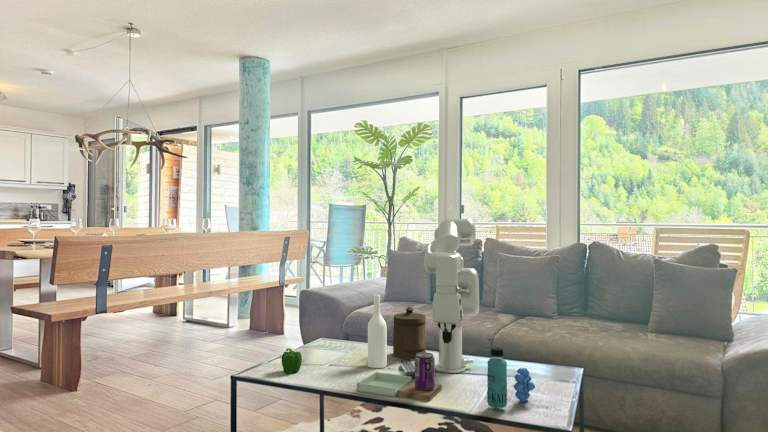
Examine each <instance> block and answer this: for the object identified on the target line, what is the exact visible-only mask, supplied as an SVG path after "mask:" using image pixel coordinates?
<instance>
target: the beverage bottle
mask: <svg viewBox="0 0 768 432" xmlns="http://www.w3.org/2000/svg"><path fill="white" fill-rule="evenodd" d="M490 355H491V356H492V357H491V358H489V359H488V360H487V375H486V376H487V386H486V387H487V390H486V397H487V398H486V401H487V405H488V407H490V408H494V409H495V408H496V409H503V408H506V407H507V405H508V380H507V379H508V378H507V375H508V365H507V364H508V363H507V361H506V360H505V359H504V358H503V357H504V349H503V348H502V347H492V348H491V349H490Z"/></svg>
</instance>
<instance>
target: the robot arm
mask: <svg viewBox="0 0 768 432" xmlns="http://www.w3.org/2000/svg"><path fill="white" fill-rule="evenodd" d="M476 232H477V229H476V225H475V222H474V221H473V220H472V219H470V218H447V219H444V220H442V221H441V222H440V224H439V227H437V228H435V230H434V232H433V233H434V234H433V235H434V240H432V241H431V242H430V243H429V244H427V246H426V248H425V251H424V258H423V267H424V270H425V271H426V272H427V273H430V274H435V285H436V286H435V287H436V288H435V289H436V291H435V292H434V294H433V300H432V307H431V308H432V309H431V318H432V323H431V324H432V325H434V326H436V327H438V363H436V364H435V371H438V372H441V373H445V374H457V373H462V372H465V371H466V370H467V367H466V365H467V364H468V365H471V364H472V365H473V364H474V358H468V357H467V358H464V357H463V327H462V326H463V320H464V317H476V316H477V315H478V314H479V312H480V281H479V273H478V271H477V270H476V269H474V268H472V267H464V266H465V262H464V258H463V256H462V255H461V254H460V253H459V252H457V250H458V249H459V248H460V247H470V246H471V247H472V246H473V245H474V244H475V243H476V237H477V235H476V234H477V233H476ZM462 291H463V292H462Z"/></svg>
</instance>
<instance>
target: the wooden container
mask: <svg viewBox="0 0 768 432" xmlns="http://www.w3.org/2000/svg"><path fill="white" fill-rule="evenodd" d="M413 311H414V308H413V307H412V306H407V307H406V308H405V312H399V313H397V314H393V331H392V332H393V333H392V334H393V335H392V339H393V340H392V346H393V347H392V348H393V349H392V355H393V357H395V359H396V358H397V359H401V360H406V359H414V360H415V358H416V354H417V353H422V352H427V351H426V349H427V348H426V347H427V346H426V345H427V343H426V341H427V340H426V339H427V338H426V337H427V336H426V322H427V321H426V315H425V314H423V313H418V312H413Z"/></svg>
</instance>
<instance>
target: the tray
mask: <svg viewBox="0 0 768 432" xmlns="http://www.w3.org/2000/svg"><path fill="white" fill-rule="evenodd" d="M411 380H412V376H410V375H401V374H396V373H387V372H381V371H373V373H371V374H369V375H368V376H367V377H365V378H363V379H361V380H360V381H358V382H357V383H356V385H357V387H356V388H357V392H361V393H366V394H372V395H379V396H387V397H392V398H396V397H397V390H399V389H400V388H401V387H403V386H404V385H406V384H407V383H408V382H410V381H411Z"/></svg>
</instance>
